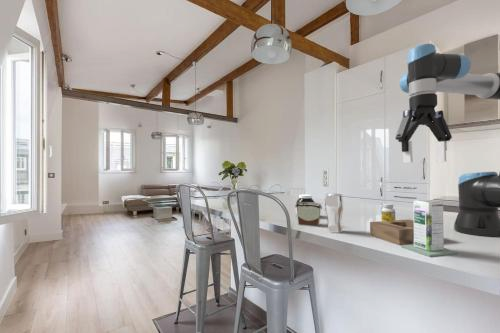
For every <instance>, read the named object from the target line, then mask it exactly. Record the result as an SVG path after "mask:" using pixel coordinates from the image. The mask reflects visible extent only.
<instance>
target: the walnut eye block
mask: <svg viewBox="0 0 500 333" xmlns="http://www.w3.org/2000/svg"><path fill="white" fill-rule="evenodd" d="M369 234H370V236H372V237H374V238H377V239H380V240H383V241H386V242H389V243H391V244H395V245H397V246H402V245H410V244H414V219H410V218H409V219H395V220H393V221H382V220H381V221H380V220H379V221H370V222H369Z"/></svg>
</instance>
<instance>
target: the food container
mask: <svg viewBox="0 0 500 333" xmlns="http://www.w3.org/2000/svg"><path fill="white" fill-rule="evenodd" d="M296 207H297V214H296V216H297V223H298V225H299V226H307V227H316V228H319V227H320V220H321V218H320V217H321V210H322V209H323V207H322V204H321V203H320V202H316V201H314V202H298V203H295V205H294V208H296Z"/></svg>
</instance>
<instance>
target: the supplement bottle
mask: <svg viewBox="0 0 500 333" xmlns="http://www.w3.org/2000/svg"><path fill="white" fill-rule="evenodd" d="M382 207H383V208H382V209H381V221H393V220H396V209H395V208H394V204H392V203H383V204H382Z"/></svg>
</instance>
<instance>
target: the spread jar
mask: <svg viewBox="0 0 500 333" xmlns="http://www.w3.org/2000/svg"><path fill="white" fill-rule="evenodd" d="M298 202H315V200H314V199H313V195H312V194H299V195H298V199H297V200H296V203H298ZM296 203H295V204H296ZM295 213H296V215H297V207H295Z"/></svg>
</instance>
